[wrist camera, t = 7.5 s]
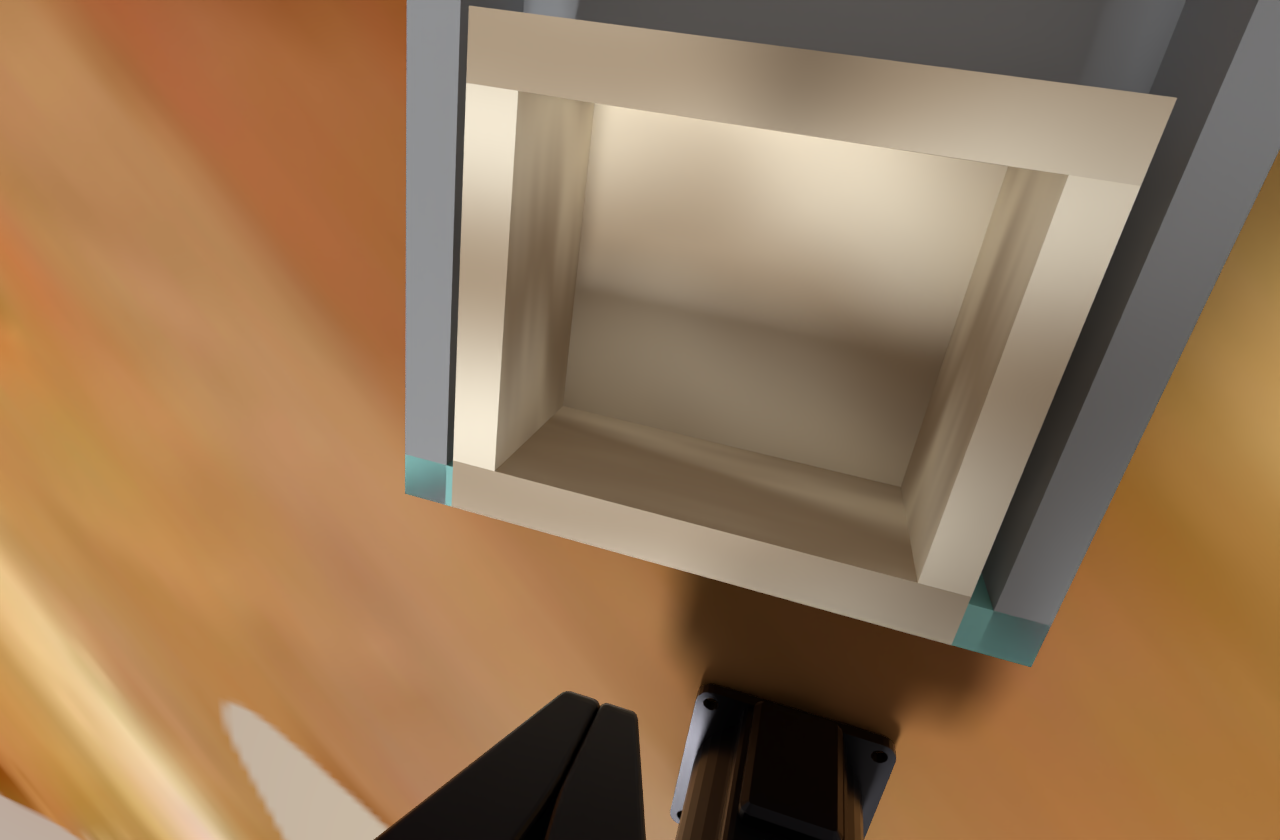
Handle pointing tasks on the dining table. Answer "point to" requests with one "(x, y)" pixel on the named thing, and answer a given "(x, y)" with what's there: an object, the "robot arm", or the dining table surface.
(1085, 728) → the dining table surface
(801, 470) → the crate
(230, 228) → the dining table surface
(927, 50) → the bay
